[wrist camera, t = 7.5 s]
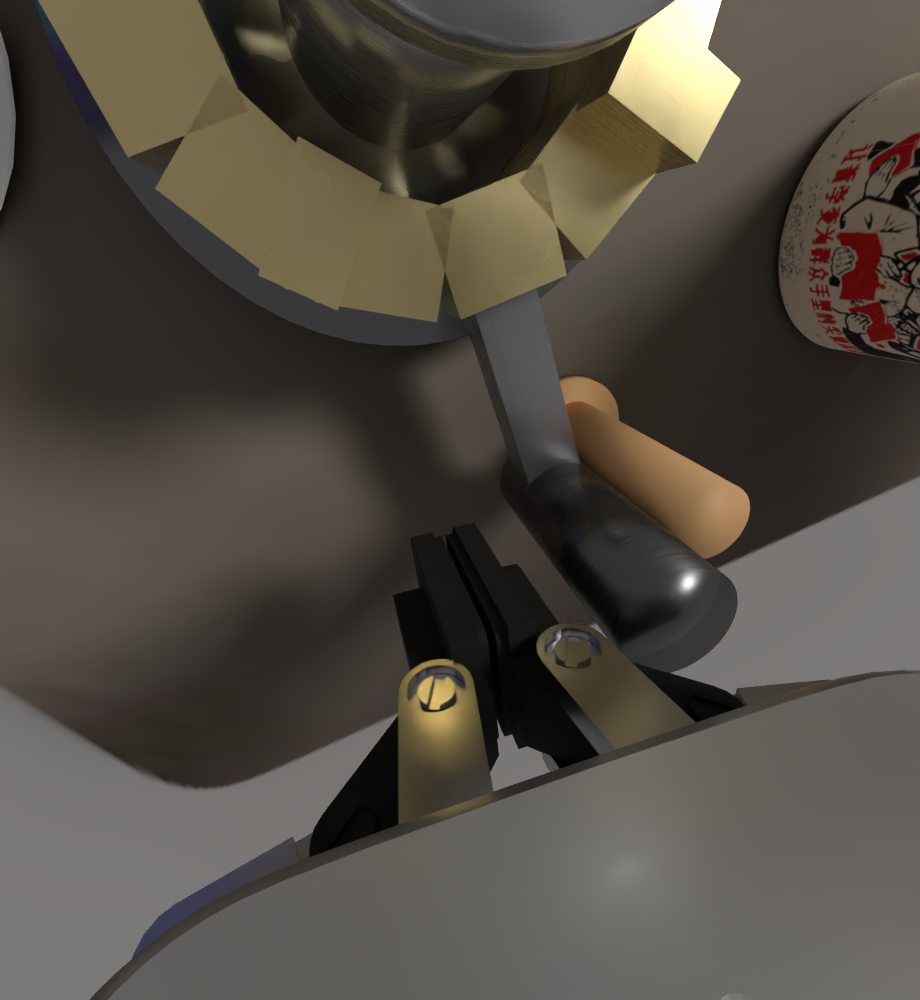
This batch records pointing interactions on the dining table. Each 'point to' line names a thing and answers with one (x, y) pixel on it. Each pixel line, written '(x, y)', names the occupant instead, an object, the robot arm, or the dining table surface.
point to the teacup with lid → (860, 232)
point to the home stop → (653, 472)
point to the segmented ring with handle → (451, 255)
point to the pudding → (6, 122)
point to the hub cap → (380, 111)
